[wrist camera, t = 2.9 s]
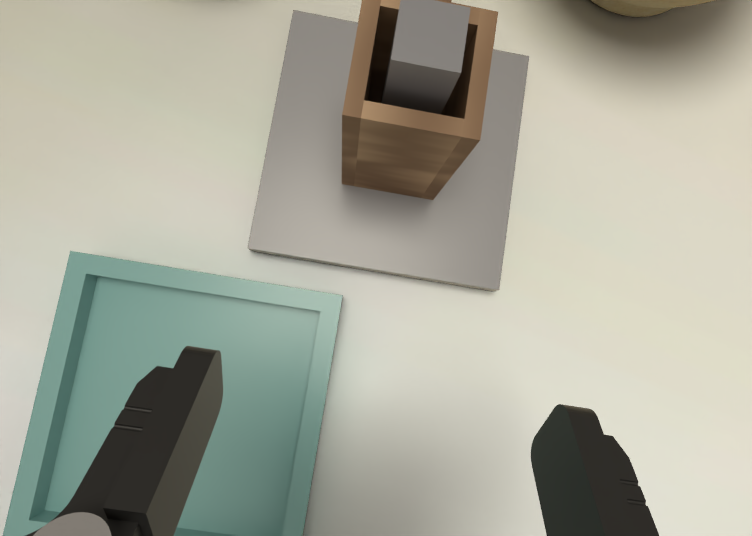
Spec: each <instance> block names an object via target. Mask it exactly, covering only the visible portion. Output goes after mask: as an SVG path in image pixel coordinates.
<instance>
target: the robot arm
mask: <svg viewBox="0 0 752 536" xmlns="http://www.w3.org/2000/svg"><path fill="white" fill-rule="evenodd" d="M222 398H223V376H222V360H221V352H220V351H219V350H213V349H206V348H200V347H193V346H186V347H185V348H184V349H183V350H182V352H181V354H180V356H179V358H178V360H177V362H176V364H175V366H174V368H168V367H162V366H156V367H155V368H154V369H153V370H152V371H151V372H149V373H148V374H147V375H146V376H145V377H144V378H142V379H141V380H140V381H139V382H138V383H137V384H136V386H135V388H134V389H133V391H132V393H131V395H130V396H129V398H128V400H127V402H126V404H125V407H124V409H123V410H122V411H121V412H120V414H119V416H118V418H117V420H116V421H115V423H114V427H113V428H111V430H110V432H109V434H108V435H107V437H106V439H105V441H104V443H103V444H102V446H101V448H100V450H99V451H98V453H97V455H96V457H95V458H94V460H93V462H92V464H91V466H90V467H89V469H88V471H87V473H86V474H85V476H84V478H83V480H82V482H81V483H80V485H79V487H78V489H77V490H76V492H75V494H74V496H73V497H72V499H71V500H70V502H69V503H68V505H67V506H66V507H65V508H64V509H63V510H62V511H61V512H60V513H59V514H58V515H57V516H56V517H55V518H54V519H53V520H51V521H50V522H49V523H48V524H46V525H44V526H43V527H41V528H40V529H38V530H36V531H34V532H32V533H30V534H28V535H25V536H174V533H175V531H176V528H177V525H178V523H179V520H180V517H181V515H182V512H183V509H184V506H185V504H186V501H187V498H188V496H189V493H190V490H191V488H192V485H193V482H194V480H195V477H196V474H197V472H198V469H199V466H200V463H201V461H202V458H203V455H204V453H205V450H206V447H207V445H208V442H209V439H210V437H211V434H212V431H213V429H214V426H215V423H216V421H217V418H218V415H219V412H220V408H221V404H222ZM531 462H532V468H533V472H534V477H535V482H536V486H537V491H538V496H539V501H540V505H541V510H542V515H543V519H544V524H545V529H546V533H547V536H659V534H658V531H657V529H656V526H655V523H654V521H653V518H652V516H651V513H650V511H649V508H648V506H646V505H645V502H646V500H645V498H644V495H643V493H642V490H641V487H640V486H638V480H637V477H636V475H635V472H634V469H633V467H632V464H631V462H630V459H629V457H628V456H627V455H626V453H625V452H624V451H623V449H622V448H621V447H620V445H619V444H618V443H617V441H616V440H615V439H614V437H613V436H609V435H604V434H603V431H602V428H601V426H600V423H599V420H598V417H597V415H596V414H595V412H594V411H593V410H591V409H587V408H581V407H574V406H568V405H561V404H559V405H557V406H556V407H555V408H554V409H553V411H552V412H551V414H550V415H549V417H548V418H547V420H546V421H545V423H544V424H543V426H542V427H541V428H540V430H539V431H538V433H537V434H536V436H535V437H534V440H533V443H532V447H531Z"/></svg>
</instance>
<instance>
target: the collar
mask: <svg viewBox="0 0 752 536" xmlns="http://www.w3.org/2000/svg"><path fill="white" fill-rule="evenodd" d="M436 1H441V2H446V3H451V0H436ZM451 4H456V3H451ZM399 5H400V0H362V4H361V10H360V15H359V21H358V27H357V32H356V38H355V44H354V50H353V55H352V61H351V67H350V72H349V78H348V84H347V89H346V95H345V101H344V107H343V112H342V184H344V185H350V186H356V187H361V188H367V189H373V190H378V191H384V192H390V193H395V194H401V195H407V196H412V197H418V198H424V199H429V200H434V198H435V197H436V196H437V195H438V193H439V192H440V191H441V189H442V188H443V187H444V186H445V184H446V183H447V182H448V181H449V179H450V178H451V177H452V176H453V174H454V173H455V172H456V170H457V169H458V168H459V167H460V165H461V164H462V163H463V162H464V160H465V159H466V158H467V156H468V155H469V154H470V153H471V151H472V150H473V149H474V148H475V146H476V145H477V144H478V143H479V141H480V139H481V132H482V124H483V117H484V110H485V103H486V95H487V88H488V81H489V74H490V67H491V59H492V52H493V45H494V38H495V31H496V23H497V16H498V12H496V11H491V10H486V9H481V8H476V7H471V6H466V5H461V4H456V5H461V6H466V7H470V15H469V22H468V29H467V36H466V43H465V50H464V56H463V63H462V70H461V74H460V76H459V78H458V80H457V82H456V84H455V86H454V88H453V90H452V92H451V95H450V97H449V99H448V101H447V103H446V105H445V107H444V109H443V111H442V113H441V115H440V114H435V113H430V112H424V111H419V110H414V109H408V108H403V107H398V106H392V105H387V104H382V103H381V101H382V95H383V90H384V85H385V79H386V74H387V69H388V64H389V58H390V53H391V48H392V42H393V37H394V32H395V26H396V21H397V16H398V10H399Z"/></svg>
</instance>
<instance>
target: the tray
mask: <svg viewBox="0 0 752 536" xmlns="http://www.w3.org/2000/svg"><path fill="white" fill-rule="evenodd" d="M342 297H343V295H337V294H331V293H325V292H319V291H313V290H307V289H300V288H294V287H288V286H282V285H276V284H270V283H264V282H257V281H251V280H245V279H239V278H233V277H227V276H221V275H215V274H208V273H202V272H196V271H190V270H184V269H178V268H172V267H165V266H159V265H153V264H147V263H141V262H135V261H129V260H122V259H116V258H110V257H104V256H98V255H92V254H86V253H79V252H73V251H70V255H69V259H68V263H67V267H66V271H65V276H64V280H63V284H62V288H61V293H60V297H59V301H58V305H57V309H56V314H55V318H54V322H53V326H52V330H51V335H50V339H49V343H48V347H47V351H46V356H45V360H44V364H43V368H42V373H41V377H40V381H39V385H38V389H37V394H36V398H35V402H34V406H33V410H32V415H31V419H30V423H29V427H28V431H27V436H26V440H25V444H24V448H23V453H22V457H21V461H20V465H19V469H18V474H17V478H16V482H15V486H14V490H13V495H12V499H11V503H10V507H9V511H8V516H7V520H6V524H5V528H4V533H3V536H25V535H28V534H30V533H32V532H34V531H36V530H38V529H40V528H41V527H43V526H44V525H46V524H48V523H49V522H50V521H51V520H53V519H54V518H55V517H56V516H57V515H58V514H59V513H60V512H61V511H62V510H63V509H64V508H65V507H66V506H67V505H68V503H69V502H70V500H71V499H72V497H73V496H74V494H75V492H76V490H77V489H78V487H79V485H80V483H81V482H82V480H83V478H84V476H85V474H86V473H87V471H88V469H89V467H90V466H91V464H92V462H93V460H94V458H95V457H96V455H97V453H98V451H99V450H100V448H101V446H102V444H103V443H104V441H105V439H106V437H107V435H108V434H109V432H110V430H111V428H113V427H114V423H115V421H116V420H117V418H118V416H119V414H120V412H121V411H122V410H123V409H124V407H125V404H126V402H127V400H128V398H129V396H130V395H131V393H132V391H133V389H134V388H135V386H136V384H137V383H138V382H139V381H140V380H141V379H142V378H144V377H145V376H146V375H147V374H148V373H149V372H151V371H152V370H153V369H154V368H155V367H156V366H162V367H168V368H174V366H175V364H176V362H177V360H178V358H179V356H180V354H181V352H182V350H183V349H184V348H185V347H186V346H193V347H200V348H206V349H213V350H219V351H220V352H221V360H222V376H223V398H222V404H221V408H220V412H219V415H218V418H217V421H216V423H215V426H214V429H213V431H212V434H211V437H210V439H209V442H208V445H207V447H206V450H205V453H204V455H203V458H202V461H201V463H200V466H199V469H198V472H197V474H196V477H195V480H194V482H193V485H192V488H191V490H190V493H189V496H188V498H187V501H186V504H185V506H184V509H183V512H182V515H181V517H180V520H179V523H178V525H177V528H176V531H175V533H174V536H303V530H304V524H305V518H306V512H307V506H308V500H309V494H310V488H311V483H312V477H313V471H314V465H315V459H316V453H317V447H318V441H319V435H320V429H321V423H322V417H323V411H324V405H325V399H326V393H327V387H328V381H329V375H330V369H331V363H332V357H333V351H334V345H335V339H336V333H337V327H338V321H339V315H340V309H341V303H342Z"/></svg>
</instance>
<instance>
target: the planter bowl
mask: <svg viewBox="0 0 752 536" xmlns="http://www.w3.org/2000/svg"><path fill="white" fill-rule="evenodd" d="M591 1H592V2H594V3H595V4H597V5H598V6H600V7H602V8H604V9H606V10H608V11H611V12H614V13H617V14H621V15H626V16H633V17H646V16H652V15H657V14H660V13H663V12H666V11H668V10H670V9H672V8H674V7H684V6H691V5H697V4H702V3H707V2H711V1H715V0H591Z"/></svg>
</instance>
